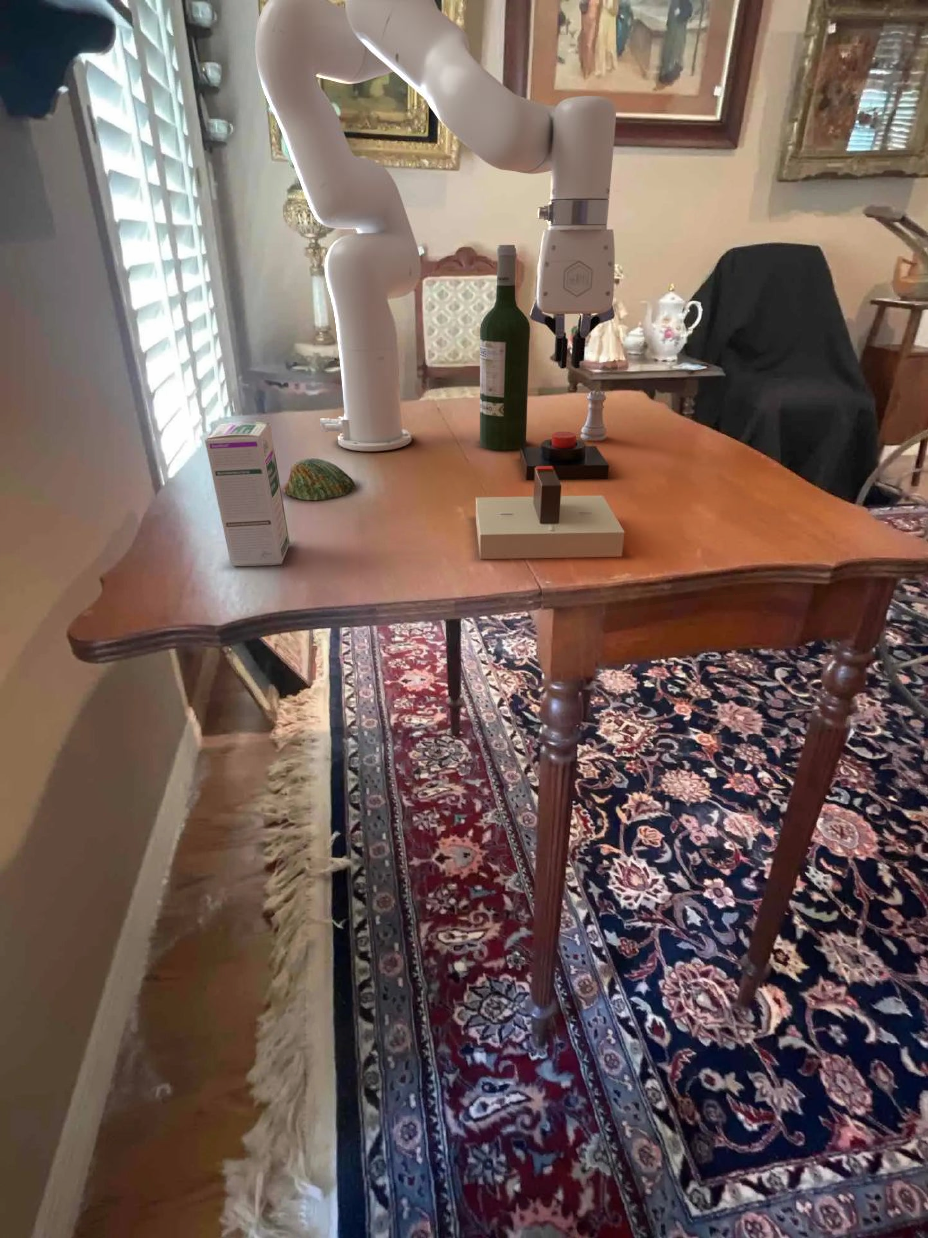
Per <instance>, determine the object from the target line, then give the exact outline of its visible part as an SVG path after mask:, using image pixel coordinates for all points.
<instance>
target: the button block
mask: <svg viewBox="0 0 928 1238" xmlns="http://www.w3.org/2000/svg"><path fill="white" fill-rule="evenodd" d="M551 444H552V438H549V439H545V440H544V441H542V442H541V443H540V446H524V447H520V449H519V462H520V466H521V468H522V472H523V475H524V478H525V481H534V477H535V468H536V466H553V469H554V471H555V473H556V475H557V477H558V479H559V481H577V480H579V481H580V480H581V481H582V480H585V481H586V480H588V481H589V480H608V479H609V469H610V464H609V462H608V461H607V460H606V459H605V457H604V456H603V454H602V453H601V451H600V450H599V448H598V447H597V446H596V445H587V444H586V443H585V441H583V440H579V439H576V447H571V448H559V447H554V446H551Z"/></svg>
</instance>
